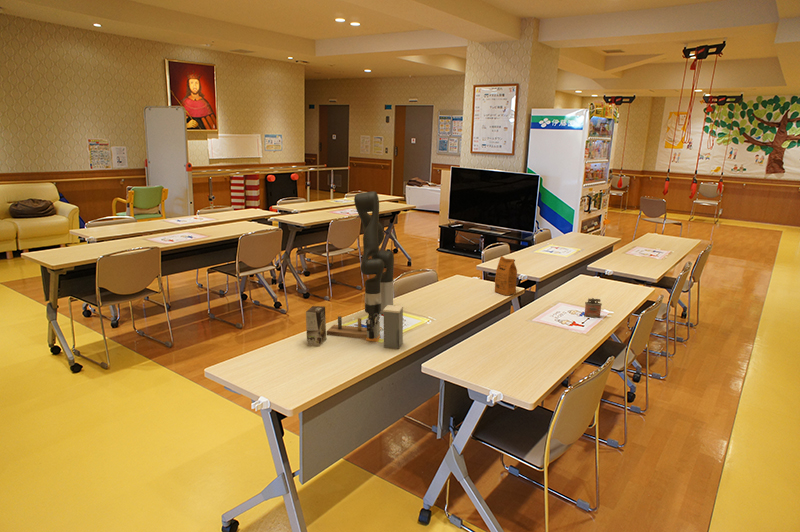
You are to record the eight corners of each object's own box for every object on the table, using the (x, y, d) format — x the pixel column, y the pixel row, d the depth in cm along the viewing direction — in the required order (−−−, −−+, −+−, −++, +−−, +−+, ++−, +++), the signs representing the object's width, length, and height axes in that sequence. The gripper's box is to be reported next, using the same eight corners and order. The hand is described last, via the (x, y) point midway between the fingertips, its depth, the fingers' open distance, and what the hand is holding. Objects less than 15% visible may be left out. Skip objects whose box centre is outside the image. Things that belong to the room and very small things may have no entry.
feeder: (387, 341, 239) (387, 304, 235) (402, 343, 237) (403, 306, 233) (383, 347, 232) (383, 309, 228) (399, 349, 231) (399, 311, 226)
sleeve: (369, 336, 245) (369, 320, 243) (380, 337, 244) (380, 321, 242) (366, 340, 240) (366, 324, 238) (377, 341, 239) (376, 325, 237)
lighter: (584, 317, 272) (585, 298, 270) (583, 315, 275) (585, 296, 273) (600, 318, 270) (602, 300, 267) (600, 316, 273) (601, 298, 271)
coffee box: (320, 346, 234) (318, 312, 230) (306, 345, 235) (305, 311, 231) (326, 339, 242) (325, 306, 238) (313, 338, 243) (312, 305, 240)
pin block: (333, 328, 256) (333, 313, 254) (372, 332, 251) (372, 316, 249) (326, 335, 247) (326, 319, 245) (366, 338, 242) (366, 322, 240)
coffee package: (503, 289, 322) (505, 254, 317) (518, 294, 312) (520, 258, 307) (491, 291, 317) (493, 256, 312) (505, 296, 307) (507, 260, 301)
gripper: (369, 296, 245) (370, 330, 249) (360, 305, 232) (360, 341, 236) (385, 297, 244) (385, 331, 248) (376, 307, 230) (376, 342, 234)
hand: (373, 336), depth 242 cm, fingers closed on sleeve, 5 cm apart
